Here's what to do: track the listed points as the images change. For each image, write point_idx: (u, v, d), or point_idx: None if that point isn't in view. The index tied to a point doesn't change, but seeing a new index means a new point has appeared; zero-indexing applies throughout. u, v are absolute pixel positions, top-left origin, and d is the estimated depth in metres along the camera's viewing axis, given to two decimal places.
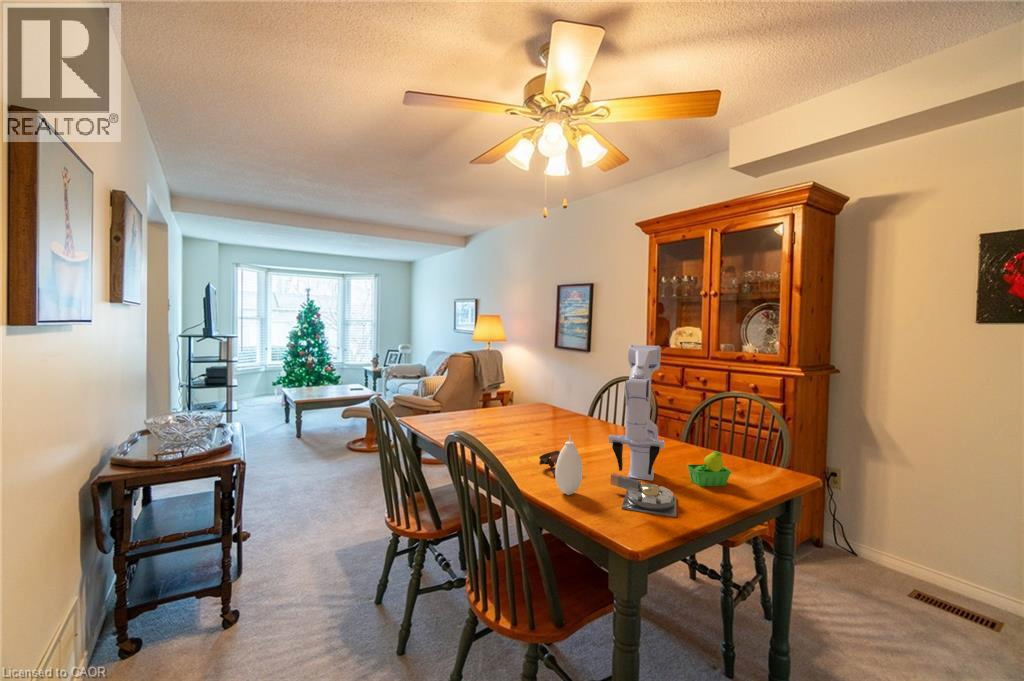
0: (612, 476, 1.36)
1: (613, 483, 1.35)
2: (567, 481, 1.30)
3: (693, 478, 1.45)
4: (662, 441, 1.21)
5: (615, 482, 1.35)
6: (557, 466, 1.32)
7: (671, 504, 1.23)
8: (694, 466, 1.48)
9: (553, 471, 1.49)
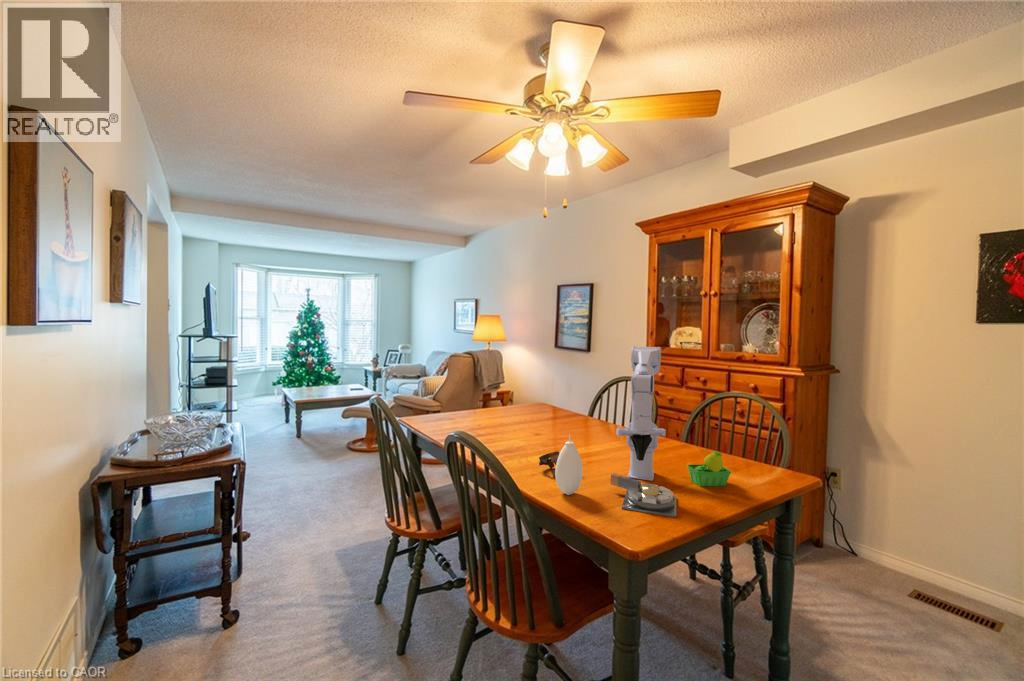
0: (612, 476, 1.36)
1: (613, 483, 1.35)
2: (567, 481, 1.30)
3: (693, 478, 1.45)
4: (663, 429, 1.36)
5: (615, 482, 1.35)
6: (557, 466, 1.32)
7: (671, 504, 1.23)
8: (694, 466, 1.48)
9: (553, 472, 1.48)
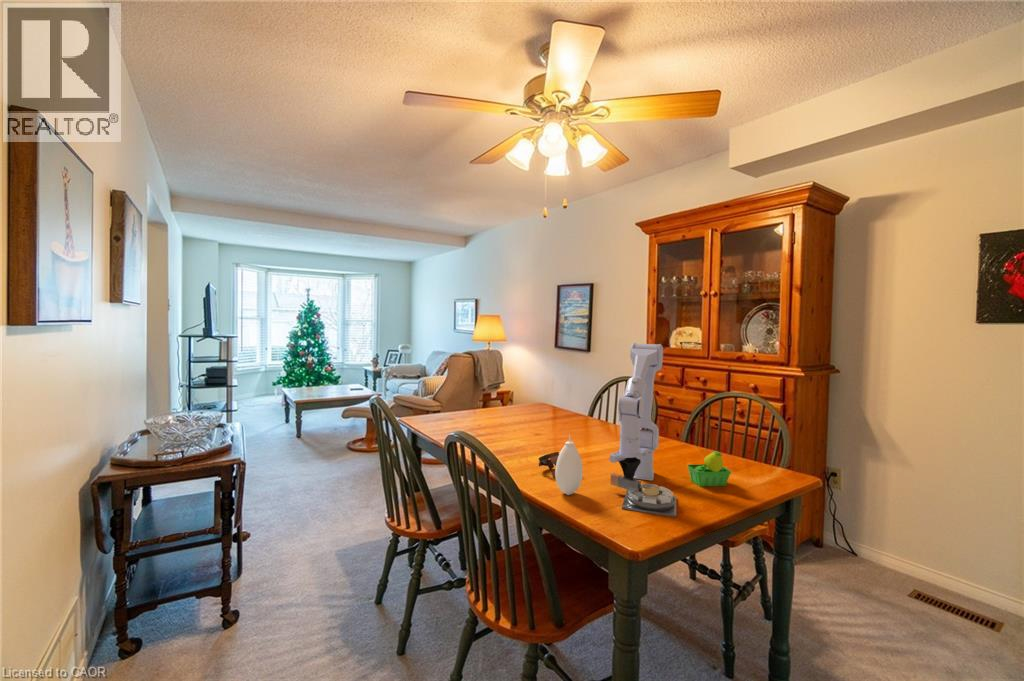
0: (612, 476, 1.35)
1: (613, 483, 1.35)
2: (567, 481, 1.30)
3: (693, 478, 1.45)
4: (645, 448, 1.38)
5: (615, 482, 1.35)
6: (557, 466, 1.32)
7: (671, 504, 1.23)
8: (694, 466, 1.48)
9: (553, 473, 1.47)
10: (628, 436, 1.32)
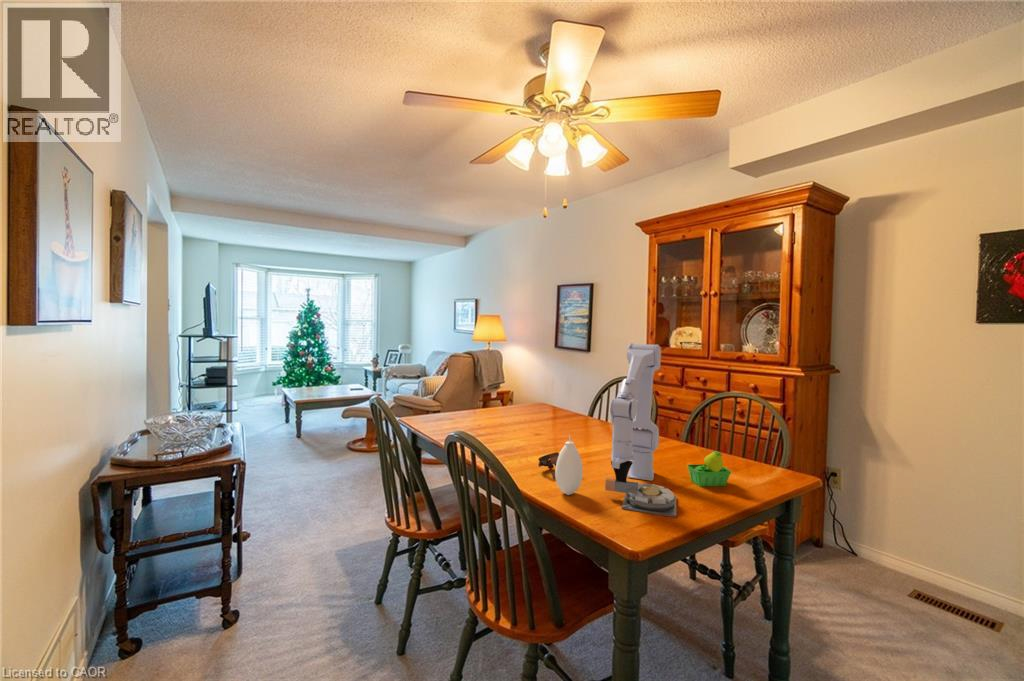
0: (607, 481, 1.31)
1: (608, 488, 1.31)
2: (567, 481, 1.30)
3: (693, 478, 1.45)
4: None
5: (611, 487, 1.31)
6: (557, 466, 1.32)
7: (671, 504, 1.23)
8: (694, 466, 1.48)
9: (553, 473, 1.47)
10: (620, 439, 1.29)
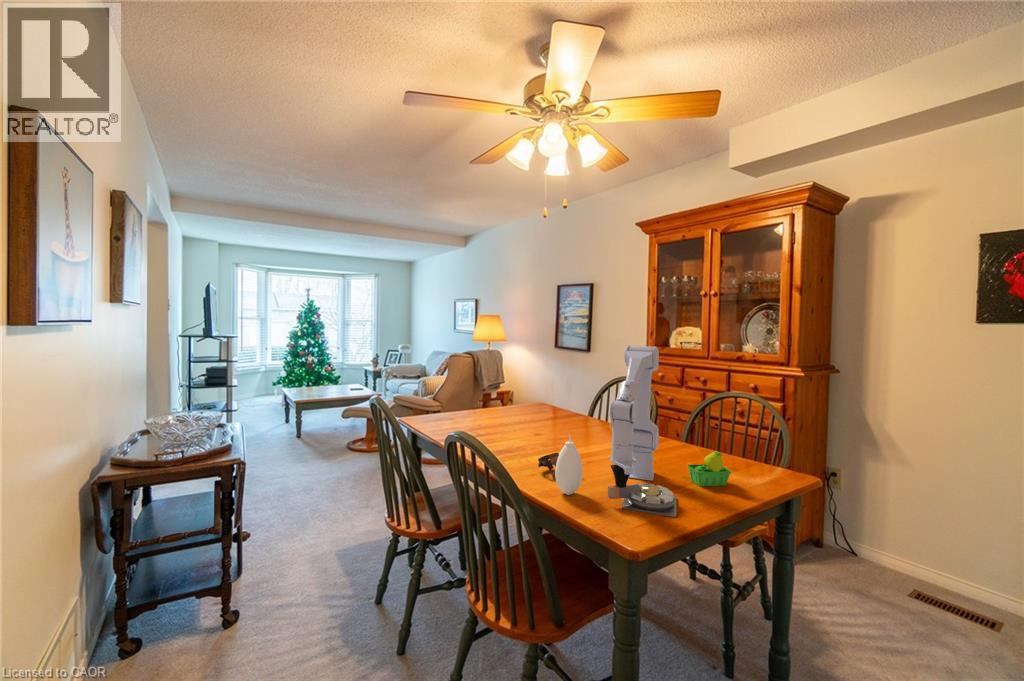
0: (612, 489, 1.25)
1: (613, 496, 1.25)
2: (567, 481, 1.30)
3: (693, 478, 1.45)
4: None
5: (615, 495, 1.25)
6: (557, 466, 1.32)
7: (671, 504, 1.23)
8: (694, 466, 1.48)
9: (552, 473, 1.46)
10: (620, 442, 1.24)
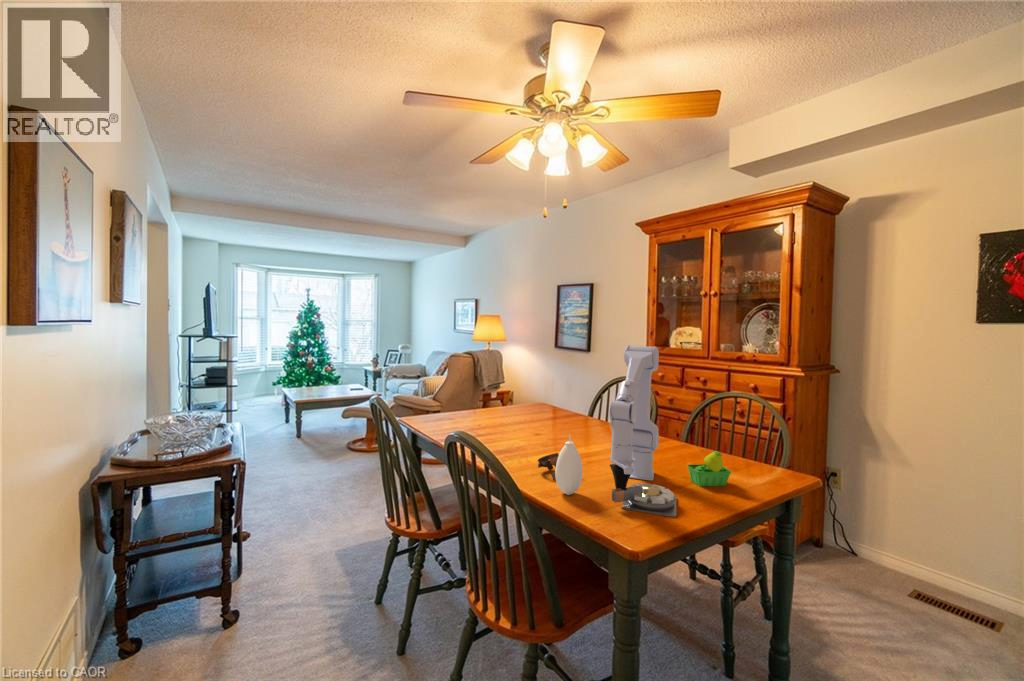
0: (617, 493, 1.22)
1: (618, 500, 1.23)
2: (567, 481, 1.30)
3: (693, 478, 1.45)
4: None
5: (620, 498, 1.23)
6: (557, 466, 1.32)
7: (671, 504, 1.23)
8: (694, 466, 1.48)
9: (552, 474, 1.46)
10: (620, 442, 1.24)
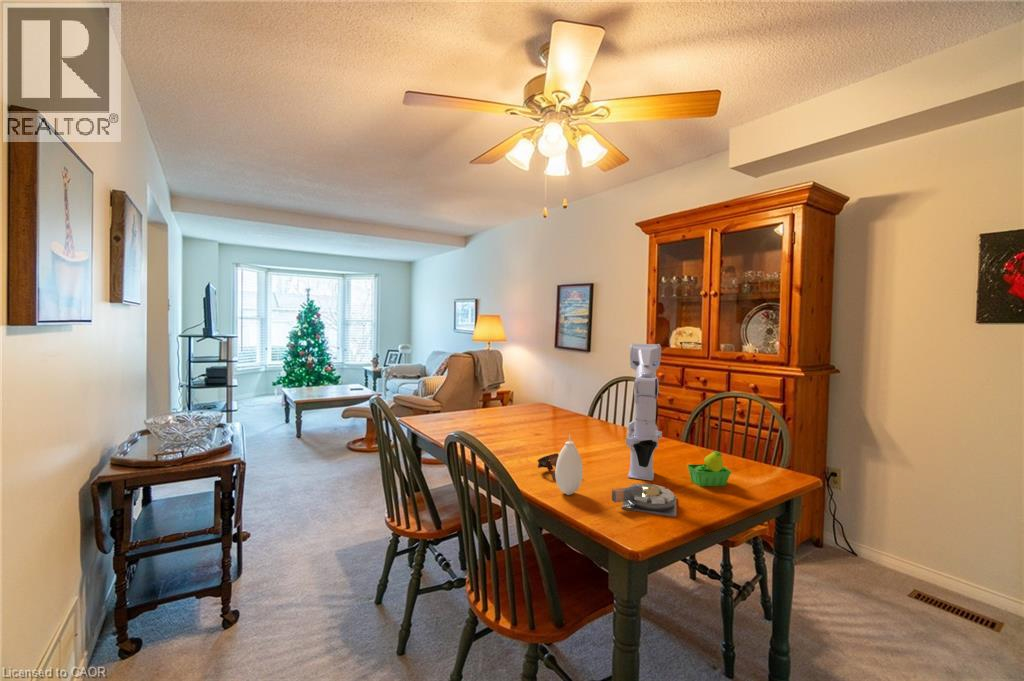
0: (617, 493, 1.22)
1: (618, 500, 1.23)
2: (567, 481, 1.30)
3: (693, 478, 1.45)
4: (658, 431, 1.34)
5: (620, 498, 1.23)
6: (557, 466, 1.32)
7: (671, 504, 1.23)
8: (694, 466, 1.48)
9: (552, 474, 1.45)
10: (646, 418, 1.27)
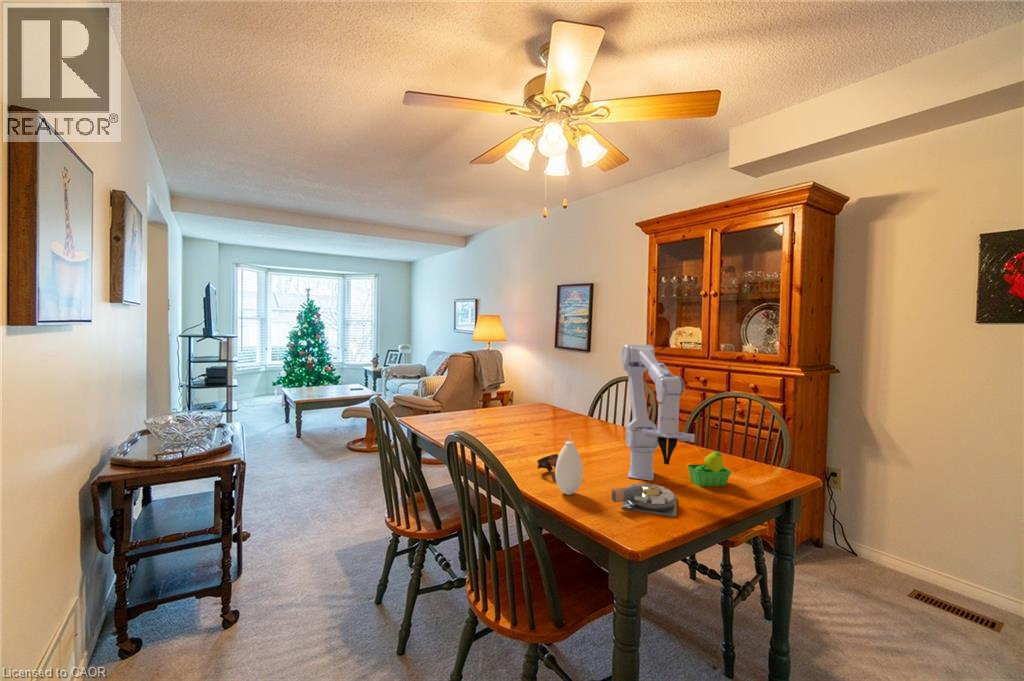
0: (617, 493, 1.22)
1: (618, 500, 1.23)
2: (567, 481, 1.30)
3: (693, 478, 1.45)
4: (692, 435, 1.30)
5: (620, 498, 1.23)
6: (557, 466, 1.32)
7: (671, 504, 1.23)
8: (694, 466, 1.48)
9: (552, 475, 1.45)
10: (673, 416, 1.29)
